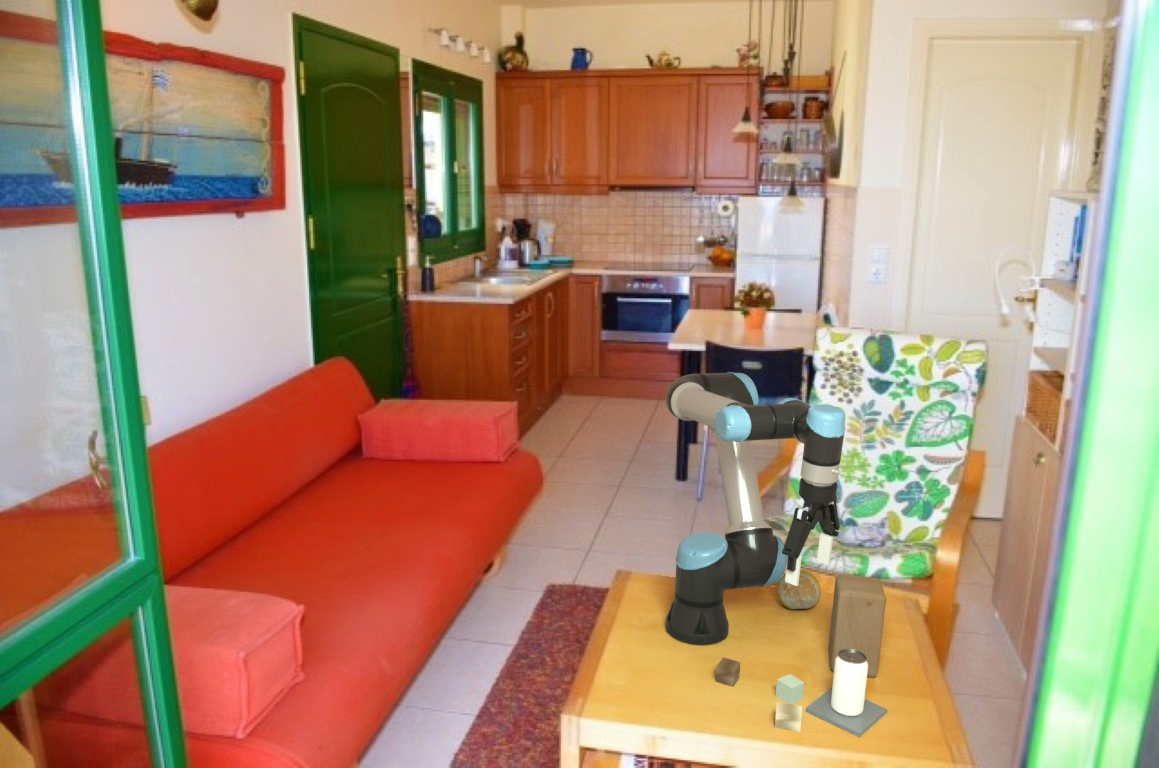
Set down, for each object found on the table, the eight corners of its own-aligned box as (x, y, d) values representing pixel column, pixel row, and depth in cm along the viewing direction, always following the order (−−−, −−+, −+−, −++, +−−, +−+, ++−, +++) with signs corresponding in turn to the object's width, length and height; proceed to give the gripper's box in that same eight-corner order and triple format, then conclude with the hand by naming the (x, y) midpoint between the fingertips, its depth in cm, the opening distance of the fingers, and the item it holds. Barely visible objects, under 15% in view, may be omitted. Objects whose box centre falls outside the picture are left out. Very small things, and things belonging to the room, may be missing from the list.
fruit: (770, 599, 230) (773, 564, 228) (809, 598, 232) (813, 563, 229) (783, 618, 220) (786, 581, 218) (824, 617, 222) (828, 580, 219)
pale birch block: (774, 728, 176) (776, 710, 175) (775, 719, 179) (776, 702, 178) (800, 732, 175) (801, 714, 174) (800, 723, 178) (802, 706, 177)
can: (844, 720, 178) (850, 666, 175) (823, 703, 183) (829, 651, 181) (869, 713, 180) (875, 660, 177) (848, 696, 186) (854, 645, 183)
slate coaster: (805, 711, 182) (805, 707, 182) (834, 688, 190) (834, 685, 190) (859, 737, 174) (859, 733, 173) (886, 712, 182) (887, 709, 182)
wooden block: (877, 679, 194) (887, 596, 190) (830, 673, 196) (839, 591, 192) (872, 656, 204) (881, 576, 199) (827, 650, 206) (835, 571, 201)
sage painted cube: (775, 696, 187) (777, 679, 186) (788, 690, 189) (789, 673, 188) (790, 705, 184) (791, 688, 183) (802, 699, 186) (804, 682, 185)
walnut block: (715, 682, 192) (716, 665, 191) (721, 673, 195) (723, 657, 194) (733, 687, 190) (734, 670, 189) (739, 678, 193) (740, 662, 192)
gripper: (805, 501, 170) (793, 599, 176) (863, 470, 188) (851, 560, 194) (771, 490, 175) (761, 585, 181) (831, 460, 193) (820, 548, 199)
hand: (807, 572), depth 187 cm, fingers open, 13 cm apart
